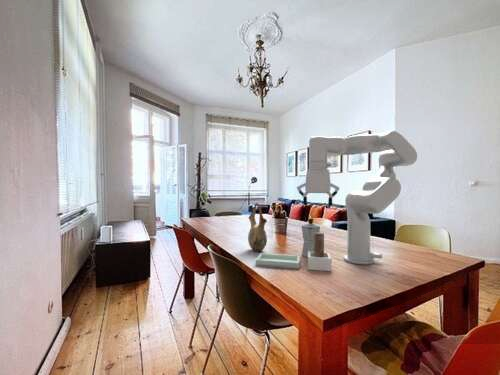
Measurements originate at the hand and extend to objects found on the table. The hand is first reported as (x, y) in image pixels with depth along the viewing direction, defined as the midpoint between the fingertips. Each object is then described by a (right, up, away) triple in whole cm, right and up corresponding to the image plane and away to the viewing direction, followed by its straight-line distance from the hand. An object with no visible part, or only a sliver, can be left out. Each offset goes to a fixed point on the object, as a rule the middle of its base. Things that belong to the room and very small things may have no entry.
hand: (317, 206), depth 104 cm
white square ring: (0, -25, -1) cm, 25 cm away
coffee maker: (+1, -25, +17) cm, 30 cm away
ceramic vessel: (-25, -25, +24) cm, 43 cm away
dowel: (0, -25, -1) cm, 25 cm away
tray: (-16, -25, +4) cm, 30 cm away
